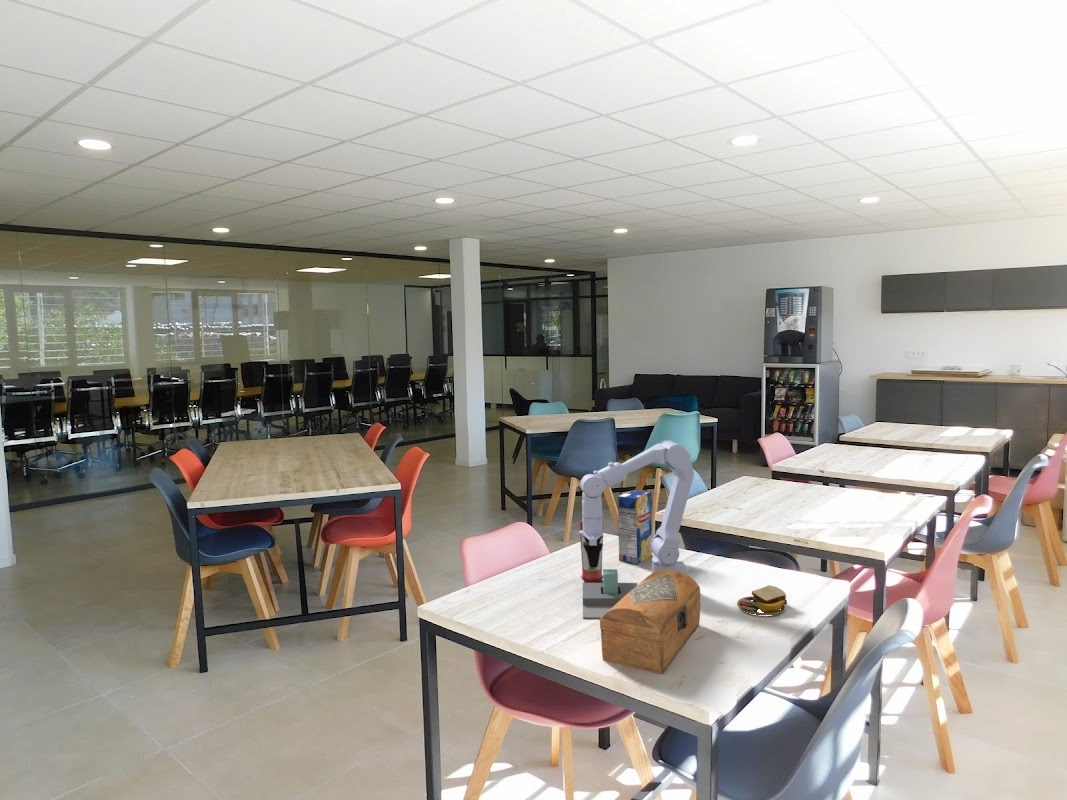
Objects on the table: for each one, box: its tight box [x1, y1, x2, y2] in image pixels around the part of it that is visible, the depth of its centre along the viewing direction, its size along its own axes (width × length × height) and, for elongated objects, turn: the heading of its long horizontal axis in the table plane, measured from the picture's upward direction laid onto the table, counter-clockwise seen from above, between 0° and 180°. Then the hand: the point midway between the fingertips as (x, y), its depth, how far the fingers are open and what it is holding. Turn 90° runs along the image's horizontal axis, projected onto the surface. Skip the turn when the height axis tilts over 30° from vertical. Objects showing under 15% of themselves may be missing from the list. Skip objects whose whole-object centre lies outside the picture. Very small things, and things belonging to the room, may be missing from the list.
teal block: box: [602, 568, 619, 594], centre depth 196 cm, size 4×4×8 cm
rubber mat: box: [582, 604, 612, 620], centre depth 187 cm, size 8×8×1 cm
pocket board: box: [582, 582, 639, 607], centre depth 197 cm, size 16×12×2 cm
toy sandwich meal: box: [736, 584, 788, 616], centre depth 188 cm, size 12×14×5 cm
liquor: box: [578, 518, 604, 583], centre depth 210 cm, size 7×7×28 cm
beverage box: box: [617, 489, 653, 565], centre depth 231 cm, size 7×11×22 cm, turn 145°
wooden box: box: [599, 570, 701, 675], centre depth 168 cm, size 30×16×14 cm, turn 149°
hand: (593, 562), depth 199 cm, fingers open, 7 cm apart
